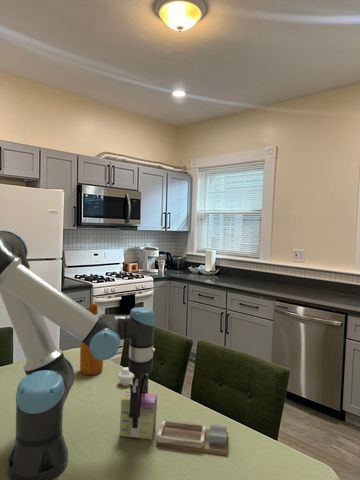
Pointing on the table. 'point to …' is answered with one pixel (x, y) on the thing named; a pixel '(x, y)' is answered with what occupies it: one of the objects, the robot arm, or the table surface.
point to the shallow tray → (193, 437)
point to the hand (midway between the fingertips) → (138, 430)
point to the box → (146, 415)
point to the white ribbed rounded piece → (125, 376)
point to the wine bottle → (89, 355)
